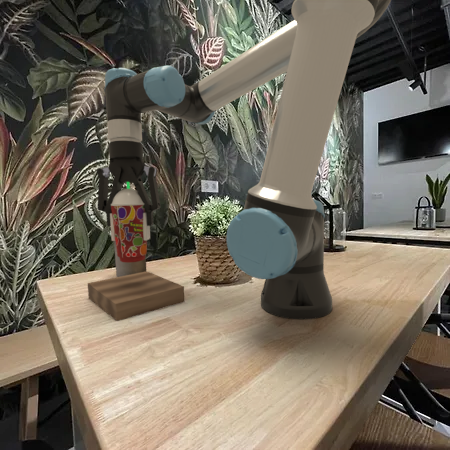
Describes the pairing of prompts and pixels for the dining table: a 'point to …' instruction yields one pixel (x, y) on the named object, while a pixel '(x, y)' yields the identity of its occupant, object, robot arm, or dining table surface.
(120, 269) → the pillar candle
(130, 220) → the smoothie
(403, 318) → the dining table surface
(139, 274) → the walnut shelf board
